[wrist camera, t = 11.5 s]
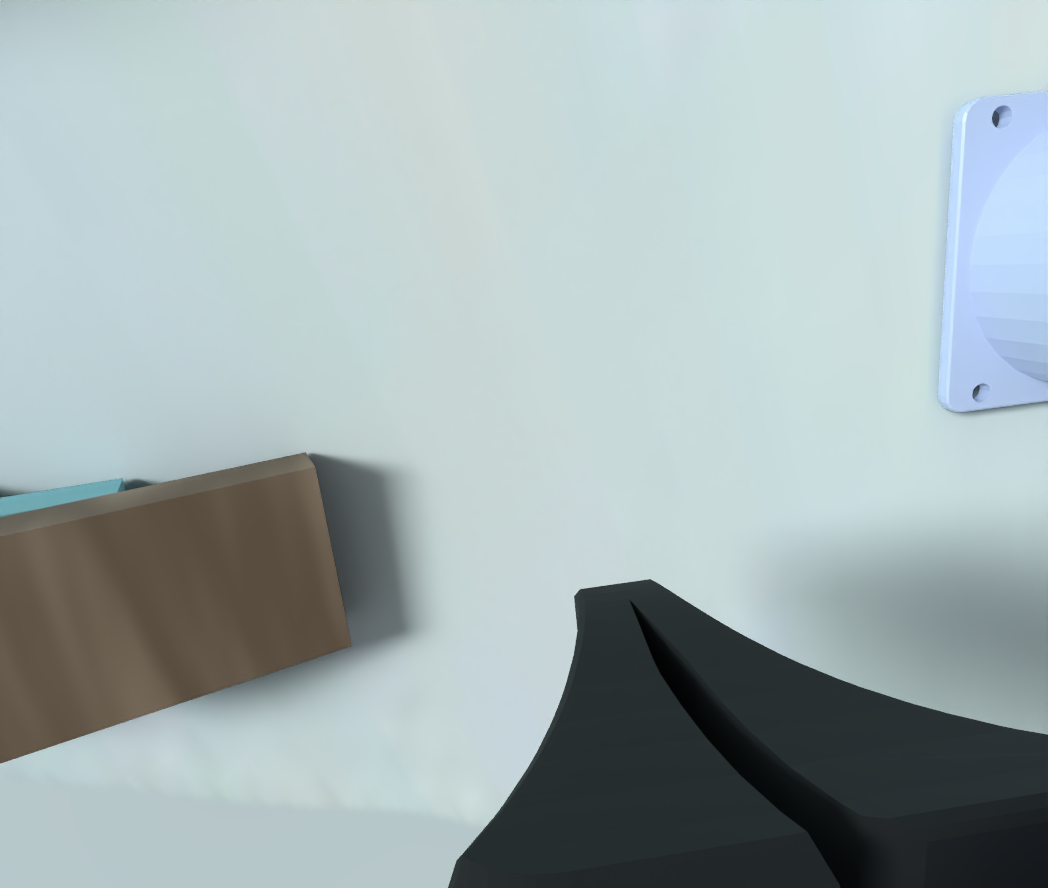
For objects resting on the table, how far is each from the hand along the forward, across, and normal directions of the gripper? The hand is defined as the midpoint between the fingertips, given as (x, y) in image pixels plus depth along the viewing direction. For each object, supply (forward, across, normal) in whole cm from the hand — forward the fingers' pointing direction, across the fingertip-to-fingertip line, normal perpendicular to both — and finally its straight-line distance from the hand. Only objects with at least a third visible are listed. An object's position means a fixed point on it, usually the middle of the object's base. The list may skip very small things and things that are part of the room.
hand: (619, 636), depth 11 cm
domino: (+7, +6, 0) cm, 9 cm away
